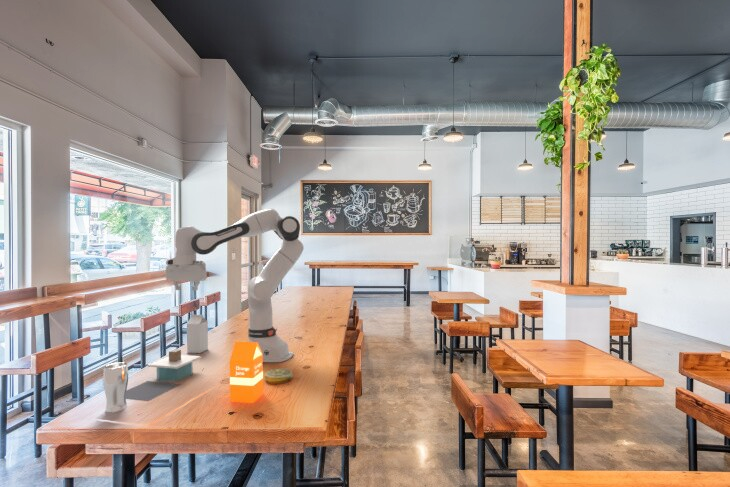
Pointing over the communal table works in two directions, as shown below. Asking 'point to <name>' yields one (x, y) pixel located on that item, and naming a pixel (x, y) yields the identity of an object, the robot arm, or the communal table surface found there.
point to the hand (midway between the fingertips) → (186, 290)
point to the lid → (174, 360)
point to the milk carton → (197, 334)
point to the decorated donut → (278, 376)
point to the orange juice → (246, 372)
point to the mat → (149, 390)
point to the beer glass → (115, 386)
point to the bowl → (174, 373)
